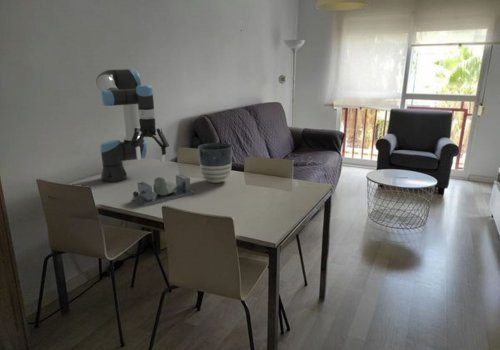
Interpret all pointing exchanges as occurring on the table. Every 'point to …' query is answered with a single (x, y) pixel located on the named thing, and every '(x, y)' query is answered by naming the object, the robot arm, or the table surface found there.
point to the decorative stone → (163, 186)
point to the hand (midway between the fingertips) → (150, 160)
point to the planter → (215, 161)
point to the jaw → (144, 191)
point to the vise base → (181, 191)
